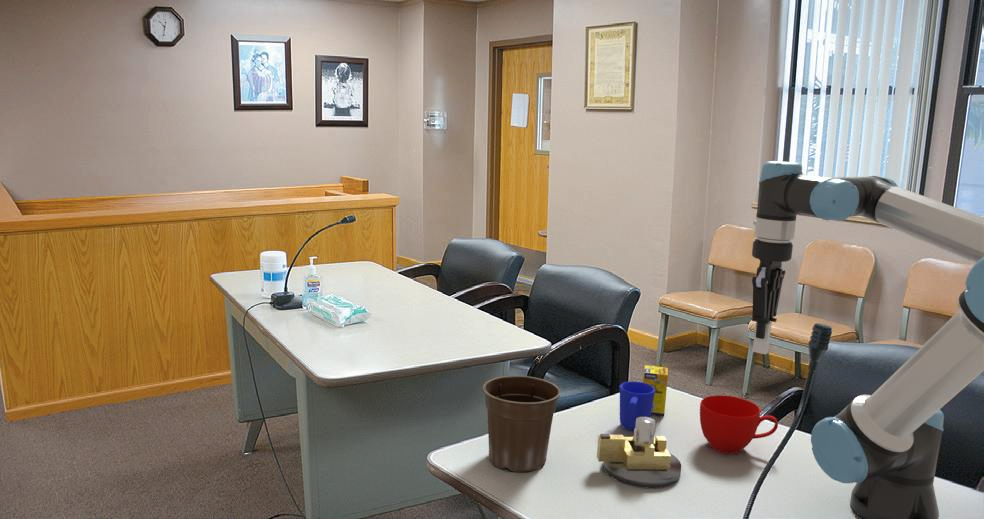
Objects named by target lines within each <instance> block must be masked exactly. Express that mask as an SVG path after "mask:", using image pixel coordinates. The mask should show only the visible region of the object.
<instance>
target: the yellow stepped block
mask: <svg viewBox="0 0 984 519" xmlns="http://www.w3.org/2000/svg"><path fill="white" fill-rule="evenodd" d="M597 435H598V436H597V447H596V448H597V451H596V459H597V462H603V463H604V462H623V464H624V465H625V467H626V469H656V470H670V461H671V455H670V454H669V453H670V452H669V450H668V449H667V439H666V437H665V436H664V435H661V436H659V435H656V436H654V445H653V444H643V449H642V452H634V451H633V450H634V438H635V429H634V431H633V436H624V435H623V434H610V433H600V434H597Z"/></svg>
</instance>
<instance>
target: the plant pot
mask: <svg viewBox="0 0 984 519" xmlns="http://www.w3.org/2000/svg"><path fill="white" fill-rule="evenodd" d="M482 391H483V393H484V396H485V397H484V398H485V407H486V410H487V411H486V412H487V429H488V430H487V431H488V434H487V435H488V436H487V437H488V458H489V460H490V462H491V463H492V464H493V465H494V466H496V467H497V468H499V469H502V470H503V469H504V470H505V469H509V470H510V471H511V472H517V473H519V472H520V473H521V472H522V473H524V472H525V473H526V472H532V471H535V470H539V469H540V468H543V466H544V464H545V463H546V462H547V455H548V450H549V449H548V448H549V443H550V435H551V430H552V425H553V424H552V423H553V419H554V413H555V412H556V408H557V403H558V400H559V398H560V396H561V393H562V392H561V389H560V388H559V386H558V385H556V384H554V383H553V382H550V381H548V380H546V379H542V378H538V377H534V376H528V375H527V376H525V375H505V376H498V377H494V378H491V379H489V380H486V382H484V384H483V386H482Z"/></svg>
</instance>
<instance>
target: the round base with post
mask: <svg viewBox="0 0 984 519" xmlns="http://www.w3.org/2000/svg"><path fill="white" fill-rule="evenodd" d="M655 432H656V420H655V419H654V418H652V417H650V418H649V417H638V418H637V419H636V426H635V438H634V450H633V451H634V452H642V449H643V444H653V445H654V437H655ZM669 454H670V455H671V461H670V470H656V469H626V467H625V465H624V464H623V462H603V466H602V467H603V470H604V471H605V473H606V474H607V475H608V476H609V477H611V478H612V479H614V480H615V481H618V482H620V483H622V484H625V485H627V486H628V485H629V486H631V487H634V488H635V487H636V488H641V489H642V488H644V489H660V488H666V487H667V488H668V487H670V486H672V485H674V484H676V483H678V481H679V480H680V479H681V473H682V463H681V461H680V460H679V459H678V457H677V456H675V455H674V454H672V453H671V452H669Z"/></svg>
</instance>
